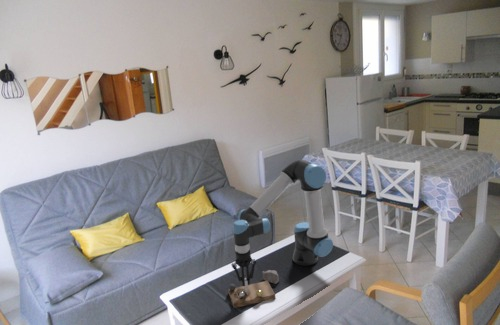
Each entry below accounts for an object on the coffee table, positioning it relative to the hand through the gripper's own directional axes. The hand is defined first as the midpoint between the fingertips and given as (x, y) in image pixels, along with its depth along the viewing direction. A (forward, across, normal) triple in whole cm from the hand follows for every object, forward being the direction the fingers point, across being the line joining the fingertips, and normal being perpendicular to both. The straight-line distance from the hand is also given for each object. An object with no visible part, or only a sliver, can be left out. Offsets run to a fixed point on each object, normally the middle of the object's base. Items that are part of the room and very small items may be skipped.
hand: (246, 290), depth 198 cm
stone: (+4, -17, -10) cm, 20 cm away
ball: (+2, +3, 0) cm, 3 cm away
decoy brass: (0, -6, +5) cm, 8 cm away
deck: (+4, -2, 0) cm, 5 cm away
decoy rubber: (0, +6, -5) cm, 8 cm away
